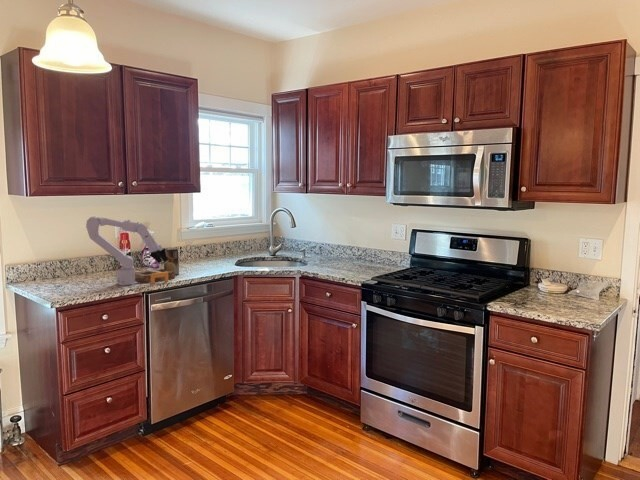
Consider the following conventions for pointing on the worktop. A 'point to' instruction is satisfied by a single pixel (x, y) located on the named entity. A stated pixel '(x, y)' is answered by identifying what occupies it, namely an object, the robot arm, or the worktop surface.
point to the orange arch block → (161, 274)
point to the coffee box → (172, 260)
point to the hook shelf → (146, 275)
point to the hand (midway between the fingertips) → (163, 261)
